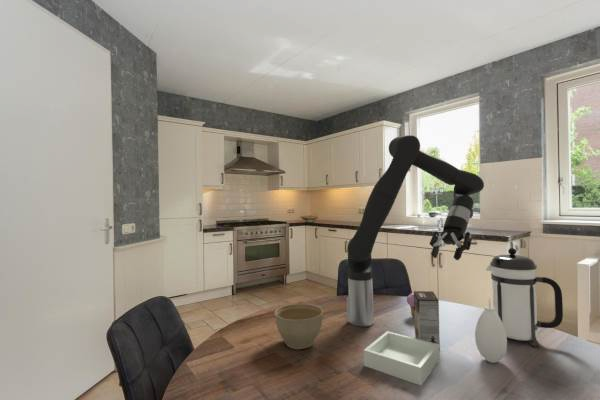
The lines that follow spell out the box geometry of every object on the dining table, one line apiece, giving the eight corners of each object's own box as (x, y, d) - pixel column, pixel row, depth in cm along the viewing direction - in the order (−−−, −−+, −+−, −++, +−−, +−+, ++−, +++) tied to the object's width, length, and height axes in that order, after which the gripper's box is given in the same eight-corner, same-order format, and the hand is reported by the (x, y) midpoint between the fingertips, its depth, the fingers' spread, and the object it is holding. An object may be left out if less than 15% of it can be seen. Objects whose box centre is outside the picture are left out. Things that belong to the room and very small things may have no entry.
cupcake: (406, 319, 122) (405, 294, 122) (408, 312, 130) (407, 288, 130) (431, 322, 118) (430, 296, 118) (431, 314, 126) (430, 290, 126)
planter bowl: (333, 341, 104) (332, 309, 104) (300, 360, 93) (299, 324, 93) (298, 329, 115) (297, 300, 115) (265, 344, 104) (264, 312, 104)
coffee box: (414, 337, 106) (413, 290, 106) (434, 338, 105) (432, 291, 105) (419, 350, 97) (417, 298, 97) (441, 351, 96) (439, 299, 96)
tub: (364, 365, 89) (363, 349, 89) (387, 344, 101) (387, 331, 101) (421, 385, 78) (420, 367, 78) (439, 359, 91) (438, 344, 91)
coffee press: (519, 353, 93) (516, 253, 94) (478, 331, 109) (476, 246, 109) (565, 345, 97) (562, 250, 97) (519, 326, 113) (516, 243, 113)
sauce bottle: (509, 370, 84) (506, 304, 84) (476, 364, 88) (473, 300, 88) (506, 357, 91) (504, 296, 91) (475, 352, 95) (473, 293, 95)
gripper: (434, 215, 121) (421, 251, 116) (471, 214, 109) (458, 254, 104) (444, 225, 124) (432, 261, 119) (481, 225, 112) (469, 265, 107)
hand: (444, 257), depth 111 cm, fingers open, 8 cm apart
